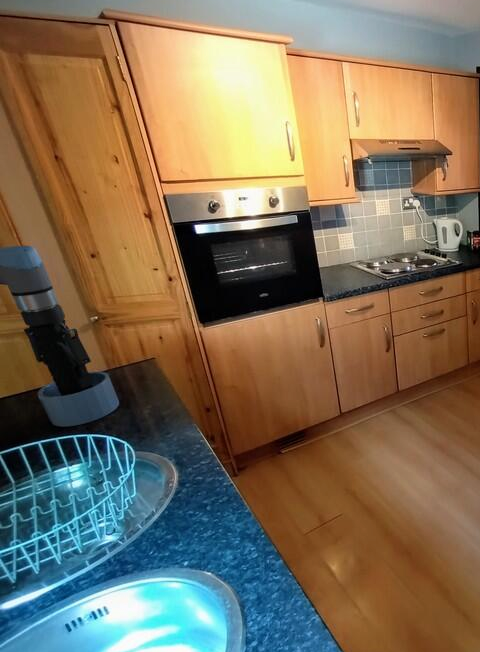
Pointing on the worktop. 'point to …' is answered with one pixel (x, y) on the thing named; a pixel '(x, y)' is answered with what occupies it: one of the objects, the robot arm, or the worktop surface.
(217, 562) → the worktop surface
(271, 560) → the worktop surface
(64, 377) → the handle grip
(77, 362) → the robot arm
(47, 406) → the blue round bowl
